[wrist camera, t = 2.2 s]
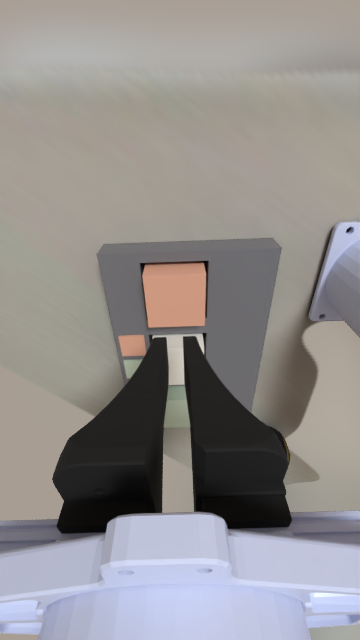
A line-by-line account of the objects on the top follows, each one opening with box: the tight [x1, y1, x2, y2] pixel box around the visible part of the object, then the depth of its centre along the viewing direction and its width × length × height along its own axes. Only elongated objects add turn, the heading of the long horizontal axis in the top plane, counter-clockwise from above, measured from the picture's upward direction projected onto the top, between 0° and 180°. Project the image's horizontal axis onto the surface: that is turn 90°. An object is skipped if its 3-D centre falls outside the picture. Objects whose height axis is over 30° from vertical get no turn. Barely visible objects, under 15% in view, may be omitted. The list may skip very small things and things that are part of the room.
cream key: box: [153, 333, 204, 385], centre depth 22 cm, size 4×4×2 cm
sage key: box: [164, 386, 190, 428], centre depth 26 cm, size 4×4×2 cm
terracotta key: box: [142, 261, 206, 328], centre depth 19 cm, size 4×4×2 cm
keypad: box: [97, 238, 282, 412], centre depth 23 cm, size 12×18×2 cm, turn 2°
